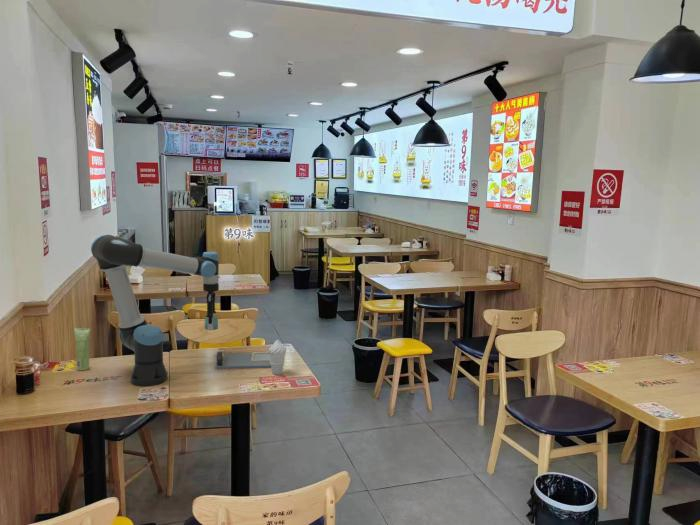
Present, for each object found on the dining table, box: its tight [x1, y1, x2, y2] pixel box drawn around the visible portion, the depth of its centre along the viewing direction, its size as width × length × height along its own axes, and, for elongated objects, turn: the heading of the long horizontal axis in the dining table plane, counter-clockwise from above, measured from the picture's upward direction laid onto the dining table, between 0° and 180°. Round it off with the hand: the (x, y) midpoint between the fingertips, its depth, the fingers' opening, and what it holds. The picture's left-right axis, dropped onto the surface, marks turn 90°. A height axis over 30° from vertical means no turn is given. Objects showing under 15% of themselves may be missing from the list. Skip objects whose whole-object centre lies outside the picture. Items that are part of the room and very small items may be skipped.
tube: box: [73, 327, 91, 371], centre depth 239 cm, size 6×5×20 cm
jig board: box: [214, 351, 272, 370], centre depth 256 cm, size 30×20×2 cm, turn 99°
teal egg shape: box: [204, 316, 219, 331], centre depth 261 cm, size 6×6×6 cm
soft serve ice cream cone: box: [267, 339, 287, 376], centre depth 240 cm, size 8×8×16 cm
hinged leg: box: [216, 347, 226, 365], centre depth 252 cm, size 14×3×6 cm, turn 9°
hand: (211, 327), depth 261 cm, fingers closed on teal egg shape, 6 cm apart
